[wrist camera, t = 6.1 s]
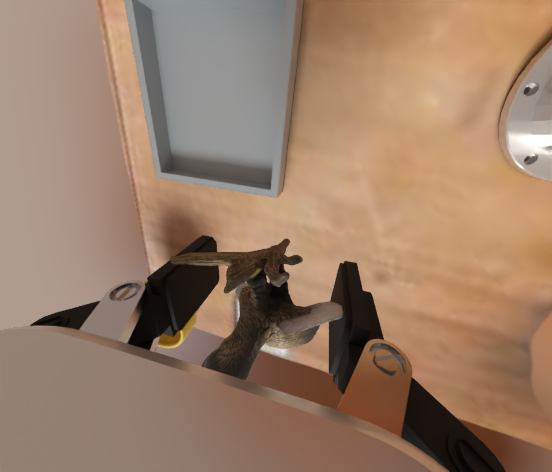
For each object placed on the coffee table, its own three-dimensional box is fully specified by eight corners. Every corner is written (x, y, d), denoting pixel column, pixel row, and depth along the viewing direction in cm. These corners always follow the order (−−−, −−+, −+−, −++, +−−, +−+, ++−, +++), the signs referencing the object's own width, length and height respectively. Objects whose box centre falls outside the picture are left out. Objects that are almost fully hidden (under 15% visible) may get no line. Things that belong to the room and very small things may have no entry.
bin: (304, 1, 17) (299, -23, 15) (282, 191, 25) (277, 198, 22) (148, 2, 20) (121, -18, 17) (173, 174, 28) (156, 178, 25)
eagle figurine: (179, 225, 11) (182, 355, 13) (151, 311, 4) (168, 527, 7) (304, 227, 13) (287, 335, 16) (398, 282, 7) (344, 445, 10)
